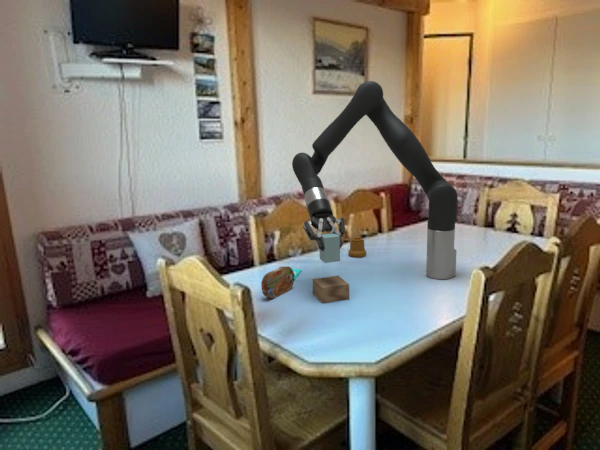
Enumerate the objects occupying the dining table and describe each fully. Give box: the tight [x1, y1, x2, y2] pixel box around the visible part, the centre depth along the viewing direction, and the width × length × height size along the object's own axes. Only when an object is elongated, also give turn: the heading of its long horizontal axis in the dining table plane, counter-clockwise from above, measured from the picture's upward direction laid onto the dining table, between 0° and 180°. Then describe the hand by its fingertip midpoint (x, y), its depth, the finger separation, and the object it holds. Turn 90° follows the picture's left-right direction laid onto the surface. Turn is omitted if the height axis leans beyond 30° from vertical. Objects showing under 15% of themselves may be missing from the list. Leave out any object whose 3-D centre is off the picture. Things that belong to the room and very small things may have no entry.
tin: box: [261, 265, 295, 299], centre depth 155 cm, size 15×3×8 cm, turn 146°
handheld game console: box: [291, 268, 302, 281], centre depth 172 cm, size 10×16×1 cm, turn 165°
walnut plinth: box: [312, 275, 350, 304], centre depth 152 cm, size 9×9×5 cm
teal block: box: [318, 232, 341, 264], centre depth 149 cm, size 5×5×8 cm
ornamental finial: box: [347, 235, 367, 258], centre depth 196 cm, size 8×8×8 cm
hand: (331, 248), depth 147 cm, fingers closed on teal block, 5 cm apart
